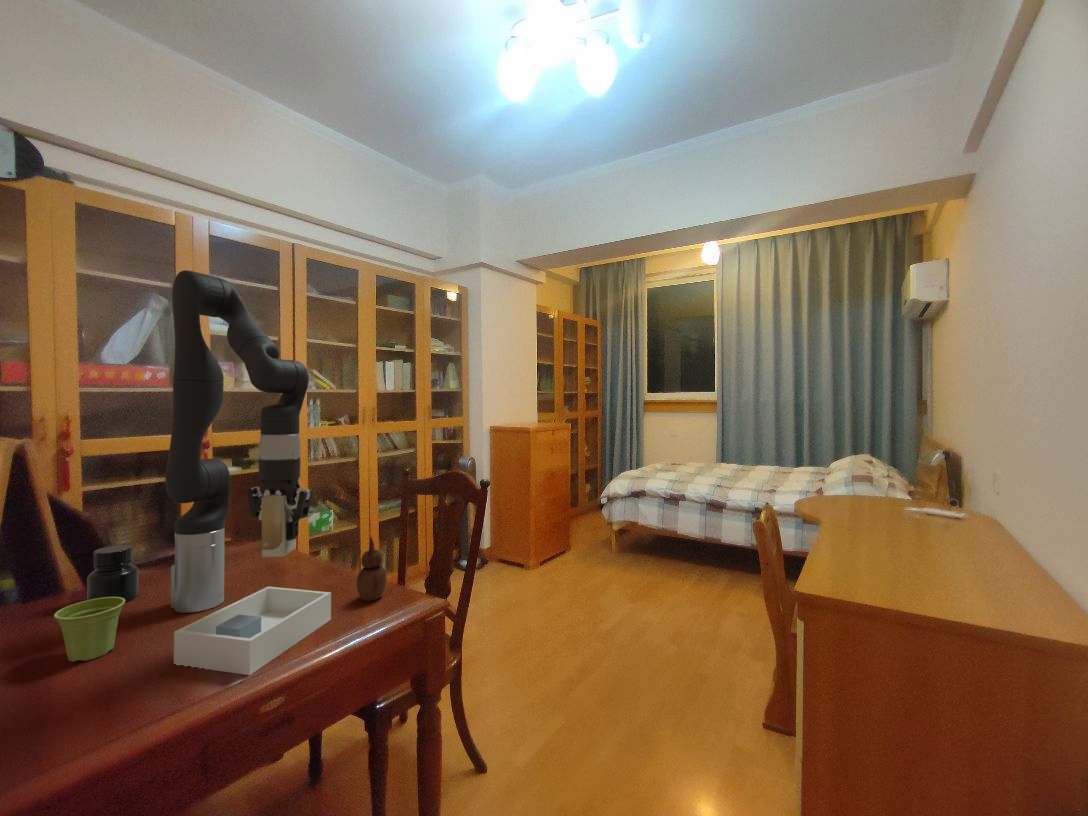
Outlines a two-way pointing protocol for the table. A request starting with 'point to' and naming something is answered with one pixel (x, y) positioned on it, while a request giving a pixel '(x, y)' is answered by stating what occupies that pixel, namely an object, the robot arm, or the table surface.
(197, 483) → the robot arm
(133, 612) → the table surface
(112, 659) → the table surface
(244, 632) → the cube
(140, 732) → the table surface
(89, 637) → the plant pot
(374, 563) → the wooden figurine
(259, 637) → the tote
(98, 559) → the ink bottle
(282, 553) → the skincare box
